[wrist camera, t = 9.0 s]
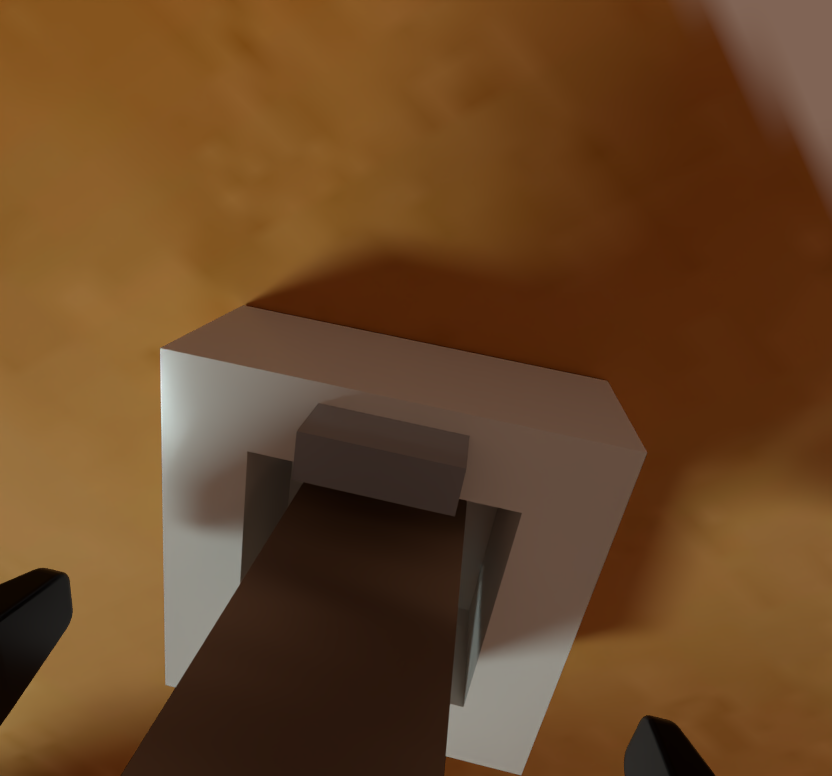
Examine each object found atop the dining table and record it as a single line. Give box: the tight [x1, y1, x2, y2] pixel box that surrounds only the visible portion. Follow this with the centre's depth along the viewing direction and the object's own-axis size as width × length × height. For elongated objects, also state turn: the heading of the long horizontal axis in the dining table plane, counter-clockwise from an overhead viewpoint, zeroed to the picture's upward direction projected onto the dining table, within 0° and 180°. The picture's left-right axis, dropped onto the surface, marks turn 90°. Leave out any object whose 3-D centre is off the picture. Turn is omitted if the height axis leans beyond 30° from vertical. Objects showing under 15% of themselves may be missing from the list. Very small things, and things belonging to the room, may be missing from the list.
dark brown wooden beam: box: [121, 482, 467, 776], centre depth 8 cm, size 3×3×9 cm
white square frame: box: [160, 305, 647, 775], centre depth 11 cm, size 8×8×4 cm
